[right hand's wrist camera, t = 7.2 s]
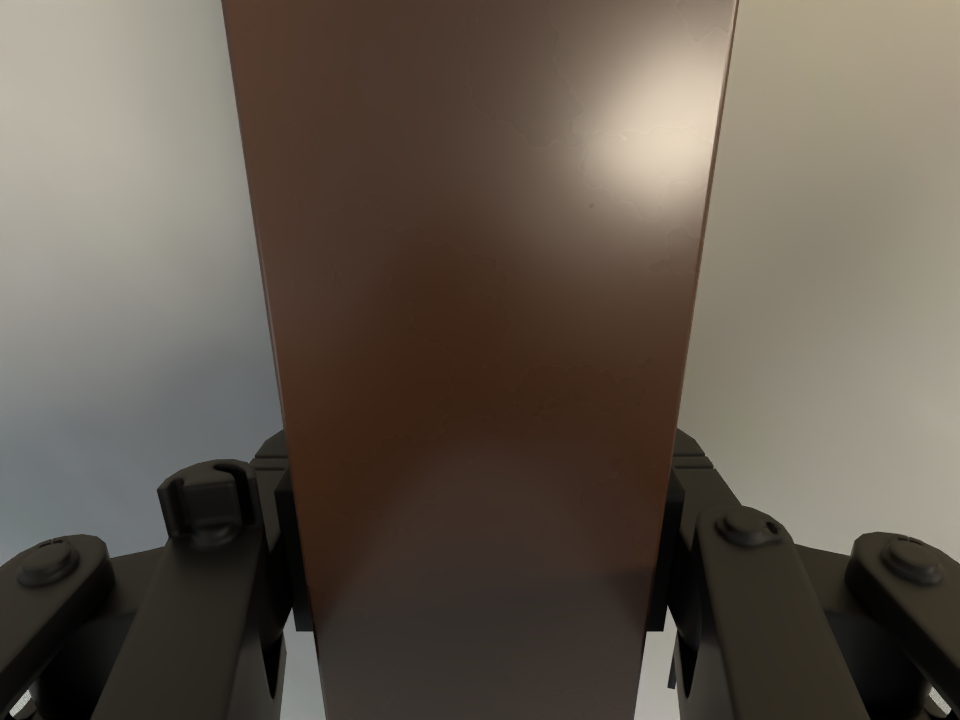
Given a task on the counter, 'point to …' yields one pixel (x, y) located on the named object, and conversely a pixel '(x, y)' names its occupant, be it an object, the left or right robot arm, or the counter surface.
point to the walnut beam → (480, 329)
